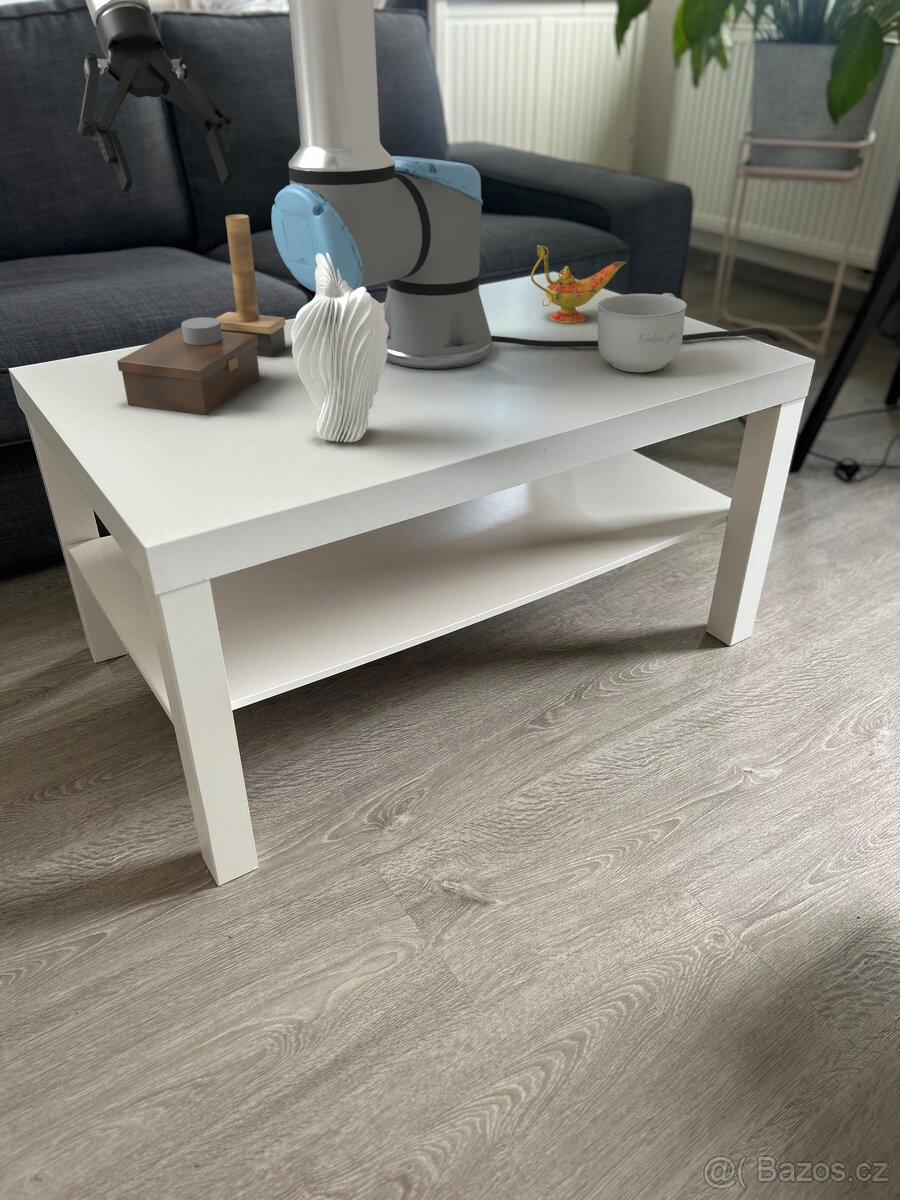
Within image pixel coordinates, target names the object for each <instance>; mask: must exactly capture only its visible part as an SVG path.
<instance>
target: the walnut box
mask: <svg viewBox="0 0 900 1200" xmlns="http://www.w3.org/2000/svg"><path fill="white" fill-rule="evenodd" d="M221 332H222V340H221V341H219V342H217V343H214V344H210V345H191V344H187V343H185V342H184V338H183V331H182V326H180V327H178V328H176V329H174V330H172V331H170V332H168V333H166V334H165V335H162V336H161V337H159V338H157V339H155V340H153V341H151V342H150V343H148V344H146V345H144V346H142V347H140V348H138V349H137V350H135V351H133V352H131V353H129V354H127V355H125V356H124V357H122V358H121V357H120V359H118V360H116V361H117V368H118V371H119V372H121V375H122V380H123V385H124V390H125V396H126V401H127V405H128V406H133V407H134V406H135V407H141V408H142V407H143V408H149V409H158V410H166V411H172V412H179V413H187V414H195V415H203V416H207V415H208V414H210V413H211V412H213V411H214V410H215V409H218V408H219V407H220V406H222V405H223V404H224V403H225V402H227V401H229V400H231V398H232V397H234V396H236V395H237V394H238V393H239V392H241V391H243V390H244V389H245V388H246V387H248V386H250V385H251V384H252V383H254V382H255V381H257V380H259V379H260V369H259V368H260V367H259V359H258V355H257V348H256V346H257V345H258V336H257V335H251V334H242V333H233V332H223V331H221Z"/></svg>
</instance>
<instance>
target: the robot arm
mask: <svg viewBox="0 0 900 1200" xmlns="http://www.w3.org/2000/svg"><path fill="white" fill-rule="evenodd" d="M85 3H86V7H87V9H88V11H89V15H90V17H91V21H92V23H93V25H94V27H95V28H96V29H95V32H96V35H97V38H98V40H99V41H98V42H99V44H100V47H101V49H102V53H103V55H104V57H105V58H99V57H97V55H96V54H95V53H93V52H88V53H87V54H86V56H85V60H84V63H83V64H84V65H83V73H84V77H85V88H84V93H83V99H82V107H81V111H80V118H79V125H78V133H79V135H81V136H83V137H87V136H91V137H93V141H94V142H95V143H96V144H97V145H99V148H100V151H101V153H102V156H103V160H104V161H105V162H106V163H107V164H113V167H114V171H115V174H116V177H117V179H118V181H119V185H120V188H121V191H122V192H123V193H124V192H129V191H130V189H131V186H132V184H133V182H134V179H133V175H132V173H131V170H130V167H129V164H128V161H127V158H126V155H125V152H124V150H123V147H122V144H121V141H120V138H119V135H118V132H117V130H116V129H111V126H112V125H113V123H114V120H115V119H116V116H117V115H118V112H119V111H120V108H121V106H122V104H123V103H124V102H125V99H126V97H127V95H128V93H129V94H130V95H132V96H133V97H134V98H143V97H144V98H145V97H150V98H159V96H161V97H162V98H164V99H165V100H166V101H167V102H171V103H173V104H174V105H175V106H176V107H178V108H179V109H180V110H181V111H183V112H184V114H186V115H187V116H189V117H190V118H191V119H192V120H193V121H195V122H196V123H197V124H198V125H199V126H201V128H203V129H204V130H205V131H206V132H207V134H206V137H205V138H206V139H205V140H206V142H207V144H208V148H209V150H210V153H211V156H212V160H213V163H214V165H215V168H216V171H217V174H218V177H219V179H220V183H221V185H222V186H223V185H228V184H229V183H230V181H231V179H232V178H233V176H234V171H233V169H232V166H231V162H230V160H229V159H230V158H229V157H228V156H229V154H231V145H230V143H229V140H228V136H227V135H226V132H228V131H229V130H230V128H231V126H232V124H233V122H234V120H235V115H234V114H233V113H232V112H231V111H230V109H229V108H228V107H227V106H226V104H225V103H224V101H222V99H221V98H220V97H219V96H218V95H217V93H216V92H215V91H214V90H213V88H211V86H210V85H209V84H208V82H207V81H206V80H205V79H204V78H203V76H202V75H201V74H200V72H199V71H198V70H197V68H196V66H195V64H194V62H193V59H192V57H191V55H189V54H188V53H183V54H181V57H180V58H173V59H170V57H169V56H168V55H167V54H166V51H165V49H164V44H163V41H162V38H161V35H160V32H159V29H158V26H157V23H156V20H155V18H154V15H152V14H153V11H152V9H151V6H150V3H149V0H85ZM287 4H288V14H289V23H290V25H289V26H290V37H291V47H292V48H291V49H292V61H293V72H294V83H295V93H296V105H297V106H296V107H297V116H298V117H297V118H298V127H299V128H298V129H299V130H298V131H299V140H300V145H299V147H298V149H297V151H296V152H295V153H294V154H293V156H292V158H291V159H289V161H288V176H289V185H286V186H285V187H284V188H282V189H281V190H280V191H278V193H277V194H276V196H275V198H274V202H275V203H273V205H272V208H271V228H272V235H273V238H274V242H275V245H276V248H277V250H278V252H279V255H280V257H281V259H282V261H283V263H284V265H285V266H286V268H287V269H288V270H289V271H290V273H291V274H292V276H293V277H294V278H295V279H296V281H297V282H299V283H300V284H301V285H302V286H303V287H305V288H306V289H308V290H310V291H312V292H313V293H316V280H315V270H316V267H317V263H316V255H317V254H319V253H320V254H322V255H323V256H324V257H325V258H326V260H327V262H328V259H327V256H326V253H328V254H329V256H330V259H331V261H332V264H333V268H334V271H335V276H336V280H337V283H338V274H337V269H339V272H340V275H341V278H342V281H346V282H347V284H348V286H349V287H350V288H352V289H353V290H354V291H355V290H356V289H358V288H360V287H365V288H366V287H369V286H374V285H377V284H378V285H379V284H382V283H386V282H387V292H386V296H385V300H384V304H383V308H384V311H385V318H384V320H385V321H386V322H387V324H388V327H389V331H388V336H387V340H386V344H387V349H388V352H387V359H386V362H389V363H392V364H395V365H399V366H403V367H410V368H416V369H452V368H459V367H460V368H461V367H464V366H469V365H473V364H477V363H479V362H481V361H484V360H485V359H487V358H488V357H489V356H490V354H491V353H492V343H502V344H512V345H514V344H515V345H521V346H526V347H527V346H528V347H546V348H599V346H598V340H538V339H527V338H518V337H511V336H500V335H492V333H491V330H490V326H489V322H488V319H487V315H486V312H485V308H484V304H483V302H482V298H481V295H480V268H481V267H480V265H481V264H480V263H481V235H482V234H481V233H482V208H483V207H482V206H483V199H482V184H481V182H482V180H481V178H482V177H481V174H480V173H479V171H478V169H476V168H475V166H473V165H471V164H467V163H462V162H456V161H449V160H441V159H433V158H423V157H414V156H403V155H402V156H400V155H391V154H390V153H389V152H388V151H387V150H386V149H385V148H384V147H383V145H382V143H381V135H380V113H379V95H378V94H379V93H378V91H379V90H378V74H377V73H378V71H377V69H378V68H377V51H376V49H377V48H376V29H375V28H376V27H375V7H374V0H287ZM105 72H106V73H107V74H108V75H109V76H110V77H111V78H112V79H113V80H114V81H115V82H116V83H117V85H116V87H115V88H114V91H113V93H112V95H111V97H110V99H109V101H108V102H107V105H106V107H105V108H104V111H103V113H102V115H101V117H100V118H99V121H96V120H94V119H93V118H94V114H95V107H96V102H97V94H98V89H99V82H100V79H102V78H103V77H104V74H105ZM172 72H173V73H175V75H176V76H175V75H174V74H173V73H172ZM180 80H182V82H183V84H184V85H182V83H181V81H180ZM167 84H168V85H169V88H168V87H167ZM328 264H329V262H328ZM329 267H330V265H329ZM330 269H331V268H330ZM331 272H332V270H331ZM332 275H333V273H332ZM333 278H334V275H333ZM334 281H335V278H334ZM335 286H336V282H335ZM336 291H337V287H336ZM749 335H763V336H764V335H765V336H767V337H768V338H770V339H771V340H772V341H774V342H781V338H780V337H779V336H778V335H777V334H776V332H774V331H772V330H770V329H768V328H765V327H752V328H751V327H750V328H745V329H737V330H720V331H719V330H717V331H708V332H697V333H690V334H683V338H682V342H686V341H695V340H704V339H714V338H730V337H731V338H734V337H742V336H749Z"/></svg>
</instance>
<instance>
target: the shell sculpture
mask: <svg viewBox="0 0 900 1200" xmlns="http://www.w3.org/2000/svg"><path fill="white" fill-rule="evenodd" d="M326 256H327V259H328V262H329V264H328V262H327V260H326V258H325V257H324V256H323V255H322V254H320V253H319V254H317V255H316V263H317V267H316V270H315V280H316V292H315V295H314V297H313V298H312V299H311V301H309V302H308V303H306V304H305V305H303V306H302V307H301V308H300V309H299V311H297V313H296V316H295V320H294V321H293V324H292V327H291V330H290V338H291V341H292V347H291V353H292V358H293V361H294V364H295V367H296V370H297V373H298V376H299V378H300V381H301V383H302V385H303V388H304V389H305V390H306V392H307V394H308V396H309V399H310V400H311V401H312V403H313V405H314V407H315V409H316V412H317V414H318V416H319V417H318V421H317V424H316V434H317V436H318V438H319V439H322V440H324V441H329V442H337V443H338V442H340V443H342V442H344V443H355V442H358V441H359V440H360V439H361V438H363V436H364V434H365V433H366V431H367V429H368V426H369V415H370V410H371V409H372V408H373V407H374V401H375V395H377V394H378V391H379V386H380V378H381V377H382V376H383V373H384V371H385V369H386V364H387V361H386V359H387V352H388V349H387V344H386V340H387V336H388V331H389V327H388V324H387V322H386V321H385V320H384V318H385V311H384V308H383V307H384V305H382V303H380V302H379V301H378V300H376V299H375V298H374V297H372V295H371V294H370V292H367V288H366V286H365V287H360V288H358V289H356V290H355V291H354V290H353V289H352V288H350V287H349V286H348V284H347V282H346V281H342V278H341V275H340V272H339V269H337V274H338V283H337V280H336V276H335V271H334V268H333V264H332V261H331V259H330V256H329V254H328V253H326ZM329 265H330V267H329ZM330 268H331V269H330ZM331 270H332V272H331ZM332 273H333V275H334V278H335V281H334V278H333V275H332ZM335 282H336V286H335ZM336 287H337V291H336Z"/></svg>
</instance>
